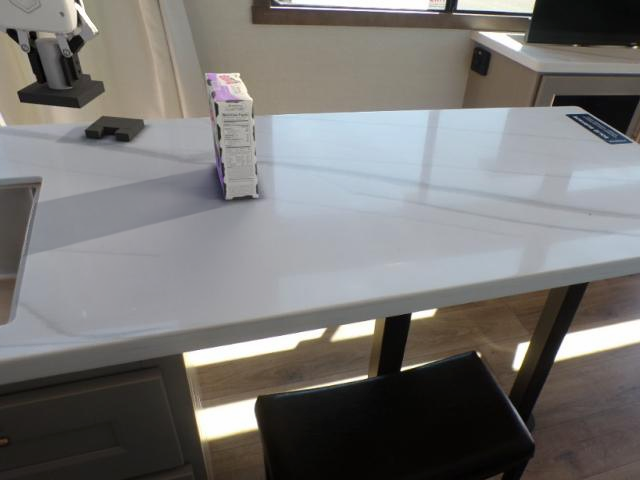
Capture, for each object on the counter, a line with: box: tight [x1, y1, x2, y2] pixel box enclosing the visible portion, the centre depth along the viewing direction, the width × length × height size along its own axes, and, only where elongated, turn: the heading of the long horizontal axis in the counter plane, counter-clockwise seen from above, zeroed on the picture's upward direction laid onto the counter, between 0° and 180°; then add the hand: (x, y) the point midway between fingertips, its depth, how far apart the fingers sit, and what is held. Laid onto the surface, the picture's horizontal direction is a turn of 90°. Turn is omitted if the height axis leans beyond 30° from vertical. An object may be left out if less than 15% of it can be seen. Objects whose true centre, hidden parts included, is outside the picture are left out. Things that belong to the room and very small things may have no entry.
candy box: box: [204, 72, 260, 201], centre depth 86 cm, size 14×6×16 cm, turn 21°
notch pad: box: [84, 115, 146, 142], centre depth 102 cm, size 8×8×2 cm
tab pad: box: [16, 37, 106, 110], centre depth 74 cm, size 8×10×8 cm
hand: (60, 81), depth 74 cm, fingers closed on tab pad, 3 cm apart
